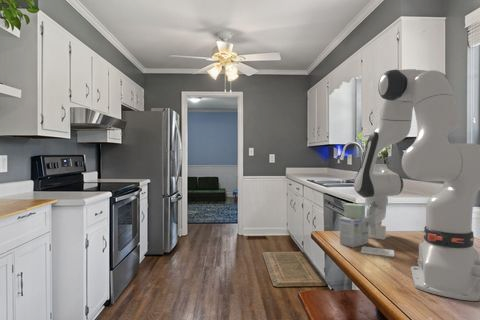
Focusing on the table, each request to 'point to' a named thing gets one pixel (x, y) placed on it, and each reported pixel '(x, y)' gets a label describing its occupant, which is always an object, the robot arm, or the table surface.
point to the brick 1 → (354, 210)
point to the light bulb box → (354, 231)
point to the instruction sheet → (377, 251)
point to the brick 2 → (378, 232)
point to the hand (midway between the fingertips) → (375, 232)
